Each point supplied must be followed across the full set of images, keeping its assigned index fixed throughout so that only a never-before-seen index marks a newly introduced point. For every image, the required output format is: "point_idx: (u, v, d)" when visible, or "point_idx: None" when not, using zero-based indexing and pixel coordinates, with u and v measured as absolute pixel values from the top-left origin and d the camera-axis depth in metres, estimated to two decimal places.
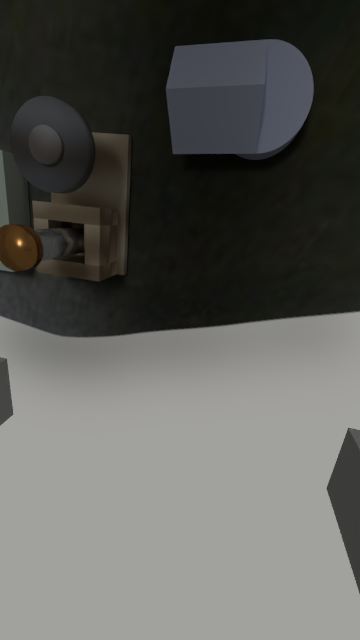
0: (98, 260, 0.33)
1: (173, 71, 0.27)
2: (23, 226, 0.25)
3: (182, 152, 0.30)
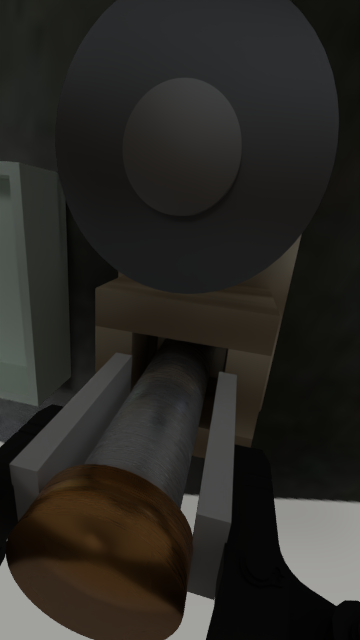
0: (251, 428, 0.14)
1: None
2: (132, 500, 0.06)
3: None
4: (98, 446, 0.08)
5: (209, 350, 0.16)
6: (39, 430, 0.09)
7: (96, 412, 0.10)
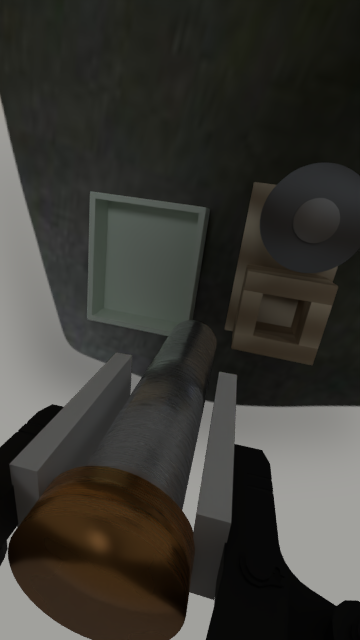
0: (317, 343, 0.28)
1: None
2: (134, 502, 0.06)
3: None
4: (100, 447, 0.08)
5: (210, 351, 0.16)
6: (39, 430, 0.09)
7: (97, 412, 0.10)
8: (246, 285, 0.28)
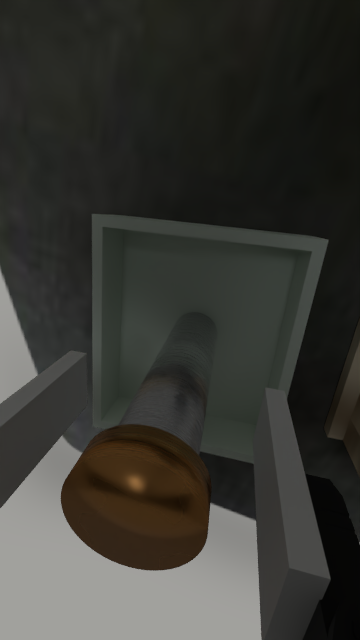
0: None
1: None
2: (165, 448, 0.08)
3: None
4: (127, 415, 0.10)
5: (212, 339, 0.17)
6: None
7: (37, 411, 0.10)
8: None
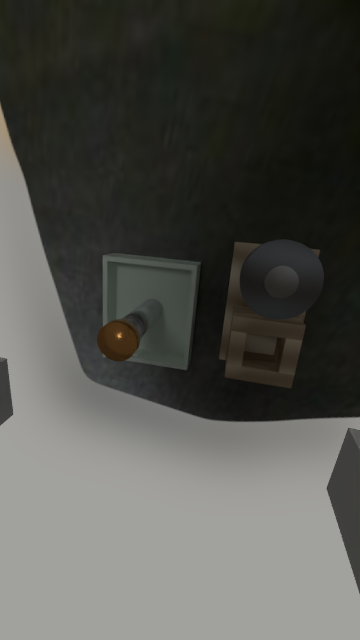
0: (293, 370, 0.34)
1: None
2: (125, 322, 0.28)
3: None
4: None
5: (157, 309, 0.38)
6: None
7: None
8: (233, 327, 0.34)
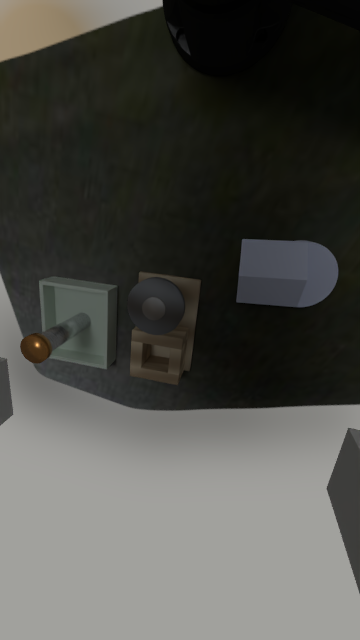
0: (178, 371, 0.46)
1: (243, 261, 0.39)
2: (39, 336, 0.40)
3: (243, 302, 0.43)
4: None
5: (82, 321, 0.49)
6: None
7: None
8: (132, 338, 0.45)
